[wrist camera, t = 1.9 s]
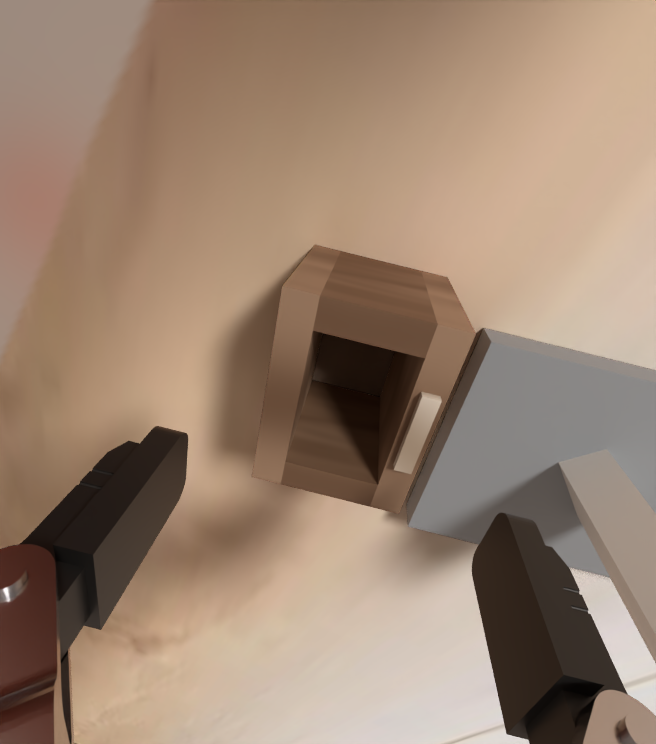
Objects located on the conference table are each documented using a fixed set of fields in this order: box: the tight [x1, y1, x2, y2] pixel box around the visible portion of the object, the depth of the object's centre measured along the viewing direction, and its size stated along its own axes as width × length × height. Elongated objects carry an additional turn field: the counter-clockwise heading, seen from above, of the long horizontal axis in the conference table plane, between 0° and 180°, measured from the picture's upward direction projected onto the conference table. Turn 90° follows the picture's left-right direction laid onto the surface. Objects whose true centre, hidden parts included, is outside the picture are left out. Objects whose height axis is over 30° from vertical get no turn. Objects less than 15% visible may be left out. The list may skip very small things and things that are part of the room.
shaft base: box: [407, 328, 656, 663], centre depth 16 cm, size 11×14×10 cm
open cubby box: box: [252, 245, 476, 514], centre depth 16 cm, size 7×6×6 cm
